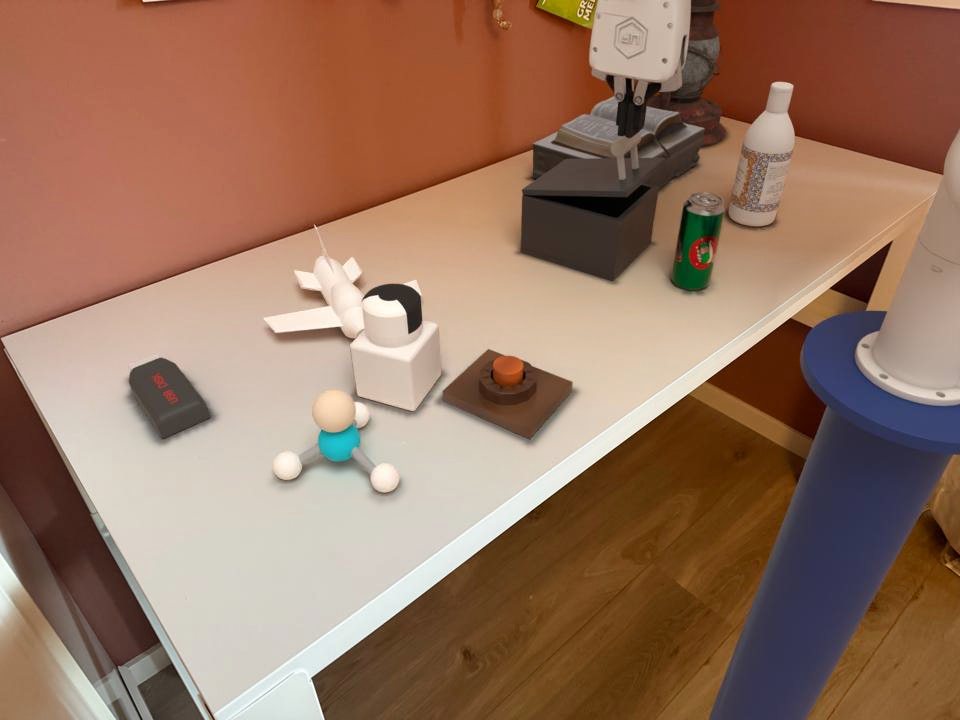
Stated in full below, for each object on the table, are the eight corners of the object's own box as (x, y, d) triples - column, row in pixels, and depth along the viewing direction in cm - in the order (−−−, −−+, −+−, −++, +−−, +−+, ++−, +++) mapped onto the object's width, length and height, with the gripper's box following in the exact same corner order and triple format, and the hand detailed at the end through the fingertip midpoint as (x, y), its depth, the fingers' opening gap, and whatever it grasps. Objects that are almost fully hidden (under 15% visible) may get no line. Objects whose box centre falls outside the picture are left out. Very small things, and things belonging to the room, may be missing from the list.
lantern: (650, 107, 150) (671, -56, 132) (739, 125, 142) (775, -48, 123) (608, 135, 138) (625, -41, 120) (702, 156, 130) (737, -30, 111)
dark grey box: (650, 243, 105) (659, 186, 99) (613, 281, 96) (620, 222, 91) (562, 218, 111) (566, 164, 106) (520, 252, 103) (521, 195, 97)
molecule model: (270, 508, 66) (250, 439, 61) (285, 421, 75) (269, 355, 70) (401, 497, 67) (392, 428, 61) (399, 413, 76) (392, 346, 71)
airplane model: (282, 372, 82) (269, 318, 77) (249, 290, 96) (236, 240, 91) (443, 328, 88) (441, 275, 84) (390, 256, 102) (385, 208, 98)
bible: (720, 172, 124) (732, 115, 118) (609, 217, 111) (616, 156, 105) (622, 134, 139) (628, 82, 133) (514, 169, 126) (515, 113, 120)
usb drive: (162, 439, 73) (154, 420, 72) (124, 382, 81) (116, 363, 79) (211, 417, 76) (204, 398, 74) (170, 364, 83) (163, 345, 82)
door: (666, 163, 97) (663, 119, 94) (626, 197, 89) (622, 151, 86) (566, 163, 106) (561, 124, 103) (522, 195, 97) (515, 153, 95)
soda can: (675, 269, 99) (690, 187, 91) (712, 277, 97) (730, 194, 89) (666, 287, 95) (680, 203, 88) (704, 295, 93) (722, 211, 86)
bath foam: (722, 207, 113) (750, 77, 101) (767, 207, 113) (800, 77, 101) (733, 228, 108) (763, 92, 96) (780, 228, 108) (816, 92, 95)
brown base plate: (572, 391, 79) (573, 370, 77) (530, 439, 73) (530, 417, 71) (488, 358, 83) (488, 337, 82) (442, 400, 78) (441, 379, 76)
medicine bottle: (387, 359, 83) (376, 270, 76) (442, 374, 81) (437, 283, 74) (356, 397, 78) (341, 305, 71) (414, 413, 76) (405, 320, 69)
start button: (528, 374, 77) (529, 361, 76) (512, 390, 75) (513, 377, 74) (503, 364, 78) (503, 351, 77) (487, 380, 76) (487, 367, 75)
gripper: (569, -40, 76) (559, 131, 87) (706, -26, 69) (676, 157, 80) (601, -51, 80) (587, 113, 92) (732, -38, 74) (700, 136, 85)
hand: (628, 133), depth 86 cm, fingers closed
